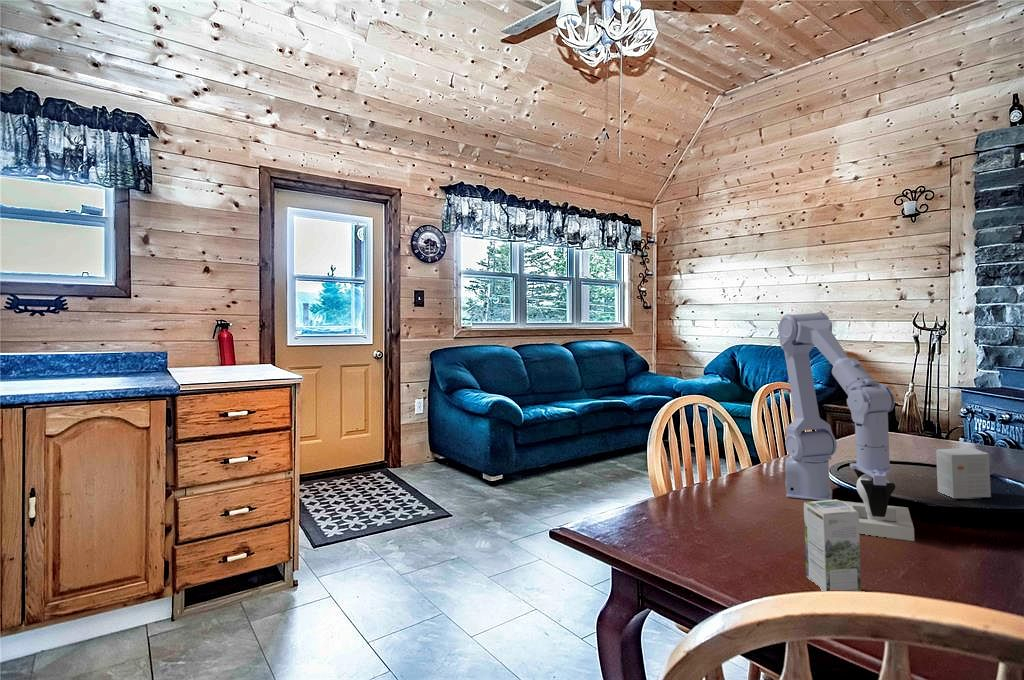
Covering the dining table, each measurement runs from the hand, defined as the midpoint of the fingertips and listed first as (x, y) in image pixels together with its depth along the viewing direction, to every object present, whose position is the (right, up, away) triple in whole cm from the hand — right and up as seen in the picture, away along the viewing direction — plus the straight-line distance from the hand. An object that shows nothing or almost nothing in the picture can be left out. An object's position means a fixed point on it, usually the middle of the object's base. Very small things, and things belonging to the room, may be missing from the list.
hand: (874, 509), depth 113 cm
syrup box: (-23, -6, -24) cm, 34 cm away
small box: (+29, -1, +13) cm, 32 cm away
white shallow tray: (0, -3, 0) cm, 3 cm away
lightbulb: (0, -4, 0) cm, 4 cm away
